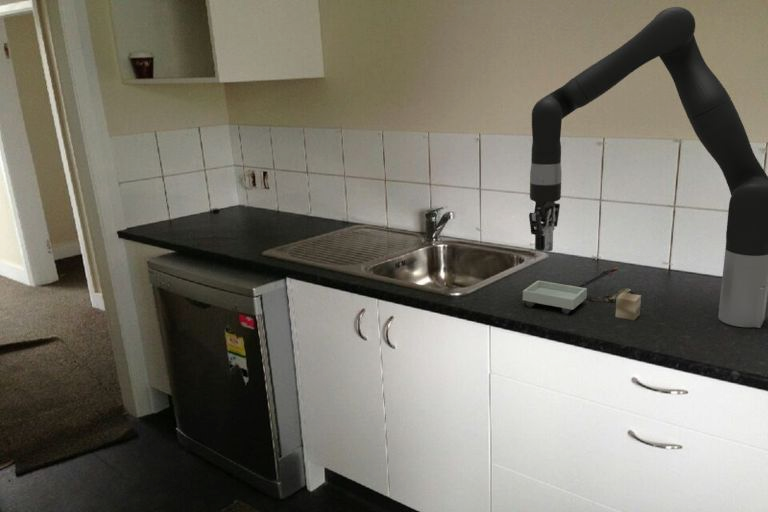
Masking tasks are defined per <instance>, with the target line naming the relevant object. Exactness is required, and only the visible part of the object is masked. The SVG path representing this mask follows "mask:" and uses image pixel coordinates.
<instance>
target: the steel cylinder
mask: <svg viewBox="0 0 768 512" xmlns="http://www.w3.org/2000/svg"><path fill="white" fill-rule="evenodd" d="M535 239H536V235H534V240H535ZM553 246H554V231H553V226H552V225H548V226H547V227H546V231H545V249H544V250H537V249H536V248H535V247H534V250H535V251H537V252H552V251H553Z"/></svg>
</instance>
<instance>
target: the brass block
mask: <svg viewBox="0 0 768 512" xmlns="http://www.w3.org/2000/svg"><path fill="white" fill-rule="evenodd" d="M641 301H642V295H641V294H634V293H632V294H630V293H623V292H622V293H621V294H620V295H619V296H618V297H617V298H616V302H615V318H619V319H625V320H629V321H635V320H636V319H637V318H638V317H639V316H640V315H641V305H642V304H641V303H642V302H641Z"/></svg>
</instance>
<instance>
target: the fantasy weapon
mask: <svg viewBox="0 0 768 512" xmlns="http://www.w3.org/2000/svg"><path fill="white" fill-rule="evenodd" d="M617 268H618V267H617V266H616V267H614V268H613V267H612V268H611V269H607V270H603V271H601V272H600V273H601V274H599V275H598V276H596V277H593V278H591V279H590V280H588V281H585V282H583V283H581V284H580V285H577V287H581V288H583V287H584V286H585V285H587V284H590V283H592V282H594V281H595V280H597V279H599V278H601V277H603V276H605V275H607V274H608V275H610V274H612V271H614V270H616V269H617ZM622 292H623V293H630V294H634V293H635V291H634V290H632V289H630V288H622V289H620V290H619V291H617V292H615V293H614V294H611V295H603V297H597V296H590V295H587V298H586V299H589V301H590V302H595V303H616V298H617V297H618V296H619V295H620V294H621V293H622Z"/></svg>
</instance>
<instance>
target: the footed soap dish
mask: <svg viewBox="0 0 768 512" xmlns="http://www.w3.org/2000/svg"><path fill="white" fill-rule="evenodd" d="M587 294H588V288H586V287H578V286H575V285H569V284H562V283H556V282H552V281H551V282H550V281H545V280H544V281H543V280H538V279H537V281H535V282H534V283H532V284H531V285H529V286H528V287H526V288H525V289H523V290H522V301H525V304H526V306H527V307H528V308H532V307H534V306H535V305H536V304H539V305H545V306H549V307H550V306H552V307H557V308H561V312H562V314H564V315H568V314H569V313H571V312H572V310H574V309H576V308H577V307H578V306H579V305H580V304H582V303H583V302H584V301H585V300H586V299H588V298H587V296H588V295H587Z"/></svg>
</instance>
